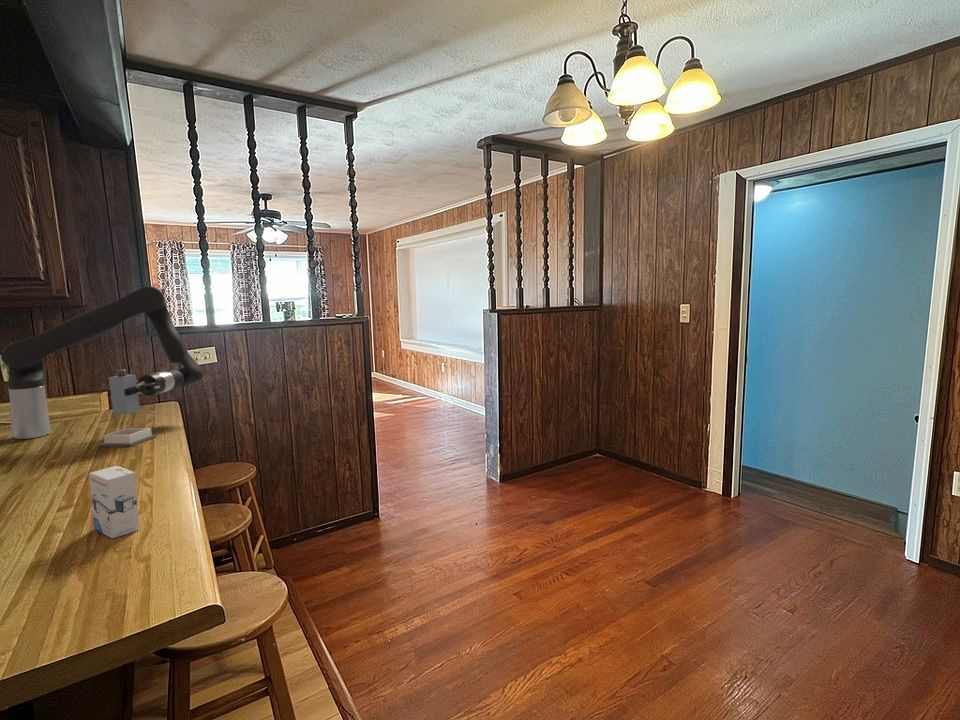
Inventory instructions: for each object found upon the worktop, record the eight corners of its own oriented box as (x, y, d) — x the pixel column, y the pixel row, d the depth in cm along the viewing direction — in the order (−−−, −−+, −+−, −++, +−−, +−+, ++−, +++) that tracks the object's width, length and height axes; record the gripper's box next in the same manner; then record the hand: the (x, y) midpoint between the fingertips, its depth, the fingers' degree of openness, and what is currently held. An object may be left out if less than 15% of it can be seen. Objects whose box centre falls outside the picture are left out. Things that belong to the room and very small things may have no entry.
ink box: (93, 529, 98) (86, 472, 96) (122, 519, 102) (116, 465, 100) (112, 539, 93) (105, 480, 92) (142, 529, 97) (136, 472, 96)
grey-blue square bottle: (113, 414, 158) (107, 371, 156) (125, 410, 163) (120, 368, 161) (127, 413, 158) (122, 371, 156) (139, 410, 162) (134, 368, 161)
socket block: (99, 446, 156) (97, 436, 156) (126, 436, 167) (125, 427, 167) (131, 446, 155) (130, 436, 155) (156, 436, 166) (155, 427, 166)
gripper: (136, 373, 174) (95, 381, 157) (174, 372, 172) (136, 380, 155) (139, 393, 175) (98, 404, 158) (176, 393, 173) (139, 403, 156)
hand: (117, 392), depth 157 cm, fingers closed on grey-blue square bottle, 5 cm apart
